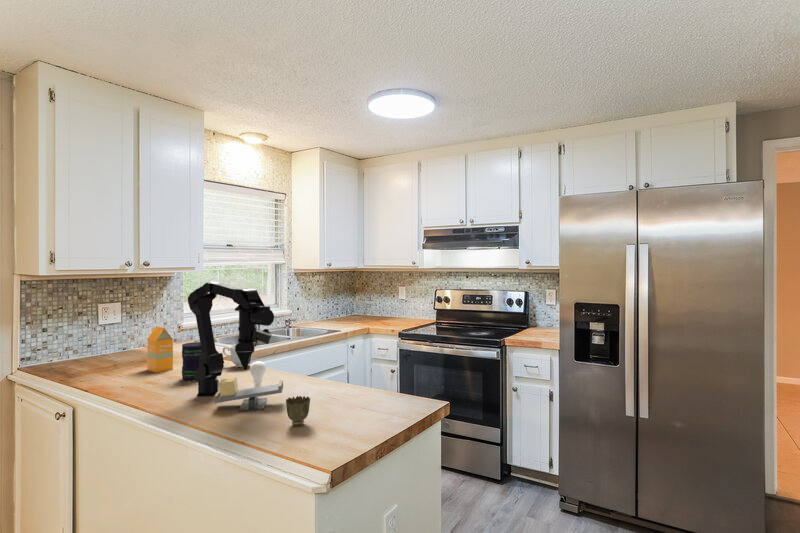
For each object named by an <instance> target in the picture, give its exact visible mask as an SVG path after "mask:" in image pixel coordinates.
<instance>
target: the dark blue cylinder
mask: <svg viewBox="0 0 800 533" xmlns="http://www.w3.org/2000/svg"><path fill="white" fill-rule="evenodd" d="M181 347H182V348H181V358H182V367H181V376H182V377H181V381H183V382H198V380H197V379H194V375H193V374H194V372H195V371H196V370H197V369H198V367H199V359H200V356H201V354H202V350H201V344H200V341H194V342H187V343H183V344H182V345H181Z"/></svg>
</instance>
